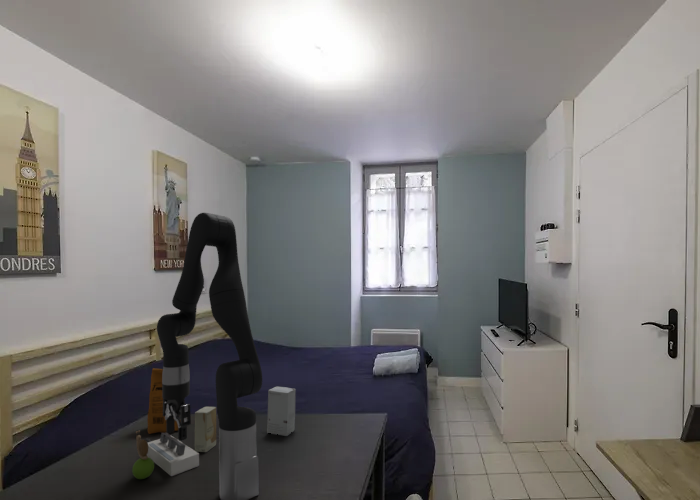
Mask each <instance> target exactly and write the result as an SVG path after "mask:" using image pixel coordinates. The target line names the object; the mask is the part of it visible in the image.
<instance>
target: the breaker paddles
mask: <svg viewBox="0 0 700 500" xmlns="http://www.w3.org/2000/svg"><path fill="white" fill-rule="evenodd" d="M160 433H161V432H160ZM171 436H172V435H170V433H161V434H160V438H159V439H160V442H162V443H166V442H168V446H167V447H169V448H175V447H176V446H177V448H176V453H177V454H184V451H185V445H186V444H185V443H184V444H183V442H182V441H180V442H179V441H178V438H176V437H174V436H173V437H174V438H173V437H171ZM168 440H169V441H168ZM181 442H182V443H181Z"/></svg>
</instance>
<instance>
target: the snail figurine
mask: <svg viewBox="0 0 700 500" xmlns="http://www.w3.org/2000/svg"><path fill="white" fill-rule="evenodd" d="M139 433H141V430H140V429H139V430H138V431H135V434H136V437H135V440H136V449H137V455H138V456H139V458H138V459H137V460H136V461H135V462H134V463H133V465H132V469H131V472H132V476H133V477H134V478H136V479H137V480H145V479H146V478H148V477H150V476H151V475H152V473H153V472H154V469H155V462H153V460H152V459H151V458H149V457H148V456H147V453H148V443H147V441H146V440H145V439H142V435H140V434H139Z"/></svg>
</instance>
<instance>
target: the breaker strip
mask: <svg viewBox="0 0 700 500" xmlns="http://www.w3.org/2000/svg"><path fill="white" fill-rule="evenodd" d="M170 436H171V437H173V438H175V437H174V436H172V435H170ZM144 440H146V441H147V443H148V453H147V456H148V457H149V458H151V459H152V460H153V462H154V464H155V465H157V466H158V467H160V469H162V471H164V472H166V473H167V474H168V475H169V476H170V477H173V476H176V475H179V474H181V473H184V472H187V471H189V470H191V469H194V468H197V467H200V453H199V452H196V451H195V449H193V448H191V447H190V446H188V445H186V444H185V443H183V442H182V441H179V440H178V439H177V440H178V441H179V442H181V443H183V444H185V451H184V454H177V453H176V448H177V446H176V447H175V448H169V447H167V446H168V442H166V443H162V442H160V438H158V439H155V440H151V439H150V438H149V437H146V438H145V439H144ZM168 441H169V440H168Z"/></svg>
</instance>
